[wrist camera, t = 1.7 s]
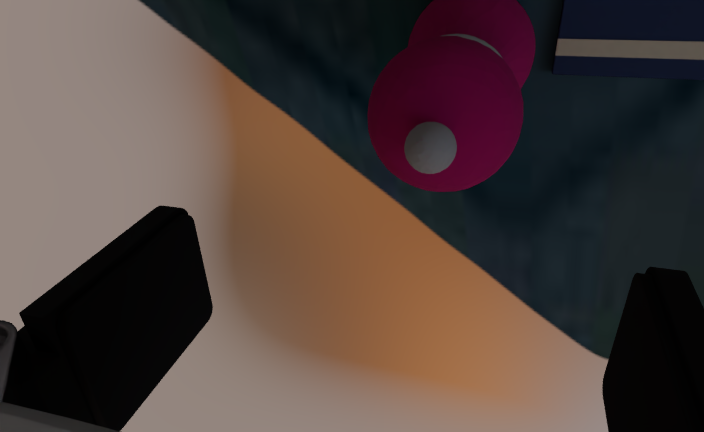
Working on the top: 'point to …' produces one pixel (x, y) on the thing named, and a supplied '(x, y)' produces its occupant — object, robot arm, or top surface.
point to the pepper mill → (454, 94)
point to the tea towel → (631, 39)
